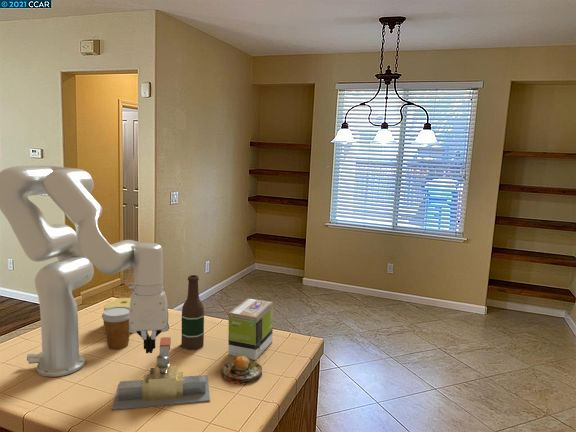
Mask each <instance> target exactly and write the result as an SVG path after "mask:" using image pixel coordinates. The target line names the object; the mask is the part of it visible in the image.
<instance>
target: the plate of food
mask: <svg viewBox="0 0 576 432" xmlns="http://www.w3.org/2000/svg"><path fill="white" fill-rule="evenodd" d="M221 377H222V379H225V380H227V381H228V382H229V383H232V384H235V383H236V384H237V385H247V384H248V385H249V384H251V383H255V382H257V381H259V380H260V379H261V378H262V377H263V368H262V366H261V365H260V363H258V362H256V361H255V360H251V359H248V358H247V357H245V356H238V357H237V356H236V357H235V359H234V360H233V361H229V362H226V363H225V364H224V365H223V366H222V369H221Z"/></svg>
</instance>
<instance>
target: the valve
mask: <svg viewBox="0 0 576 432" xmlns="http://www.w3.org/2000/svg"><path fill="white" fill-rule="evenodd" d="M205 375H206V374H202V375H199V374H198V375H187V376H185V375H184V371H178V365H173V366H169V367H167V368H163V369H161V368H158V367H157V366H156V367H150V370H149V373H148V374H147V373H146V374H143V379H135V380H134V379H133V380H121V381H119V384H118V387H119V388H118V387H117V391H118V397H119V401H120V400H132V399H142V400H149V401H156V400H168V399H177V397H183V395H190V394H202V393H206V378H205Z"/></svg>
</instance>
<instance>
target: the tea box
mask: <svg viewBox="0 0 576 432" xmlns="http://www.w3.org/2000/svg"><path fill="white" fill-rule="evenodd" d="M273 322H274V302H273V301H269V300H262V299H261V300H259V299H253V298H249V297H248V298H246V299H245V300H244V301H242V302H241V303H240V304H239V305H237V306H236V307H234V308H233V309H232V310H231V311H229V312H228V328H227V329H228V341H227V342H228V347H227V348H228V350H227V351H228V355H229V356H232V357H233V356H235V357H236V358H237V357H238V356H245V357H247V358H248V360H251V361H256V360H257V359H258V358H259V357H260V356H261V354H262V353H264V351H265V350H266V349H267V348H268V347H269V346H270V345H271V344H272V343H273V341H274V340H273V339H274V338H273V337H274V335H273V334H274V332H273V329H274V323H273Z"/></svg>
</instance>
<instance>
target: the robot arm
mask: <svg viewBox="0 0 576 432" xmlns="http://www.w3.org/2000/svg"><path fill="white" fill-rule="evenodd" d="M94 184H95V182H94V179H93V177H92V176H91V174H89V172H88V171H86V170H85V169H81V168H75V167H74V168H73V167H63V166H56V165H18V166H17V165H16V166H11V167H7V168H4V169H2V170H1V171H0V211H1V213H2V214H3V215H4V217H5V219H6V220H7V221H8V224H9V225H10V227H11V229H12V232H13V233H14V235H15V237H16V239H17V240H18V242H19V245H20V247H21V248H22V249H23V252H24V253H25V255H26V256H27V258H28V259H29V260H30V261H33V262H37V263H39V262H45V261H49V260H51V259H54V258H57V261H54V262H51V263H48V264H47V265H44V266H43V267H41V268H40V269H39V270H38V271H37V273H36V275H35V278H34V286H35V290H36V293H37V296H38V297H37V298H38V304H39V311H40V312H39V313H40V330H41V332H40V333H41V335H40V336H41V351H40V352H39V353H27V355H26V361H27V362H28V364H30V365H31V364H37V366H36V372H37V373H38V374H39V375H40V376H42V377H48V378H49V377H51V378H53V377H61V376H67V375H70V374H73V373H75V372H77V371H79V370H81V369H82V368H83V367H84V366H85V363H86V358H85V356H83V355H82V354H80V343H79V341H80V340H79V338H80V337H79V315H78V313H79V312H78V305H77V301H76V299H75V297H74V296H73V291H75V290H77V289H79V288H81V287H82V286H84V285H87V284H88V283H89V282H91V281H92V279H93V277H94V274H95V273H94V272H95V268H96V269H97V270H99V271H100V272H101V273H103V274H106V275H115V274H117V273H119V272H121V271H124V270H126V269H129V268H132V267H133V279H134V281H133V283H132V284H128V290H132V291H133V292H132V294H131V295H130V298H131V299H130V308H129V332H132V333H133V334H137V335H139V337H140V338H141V339H142V340H143V349H144V350H145V354H152V353H153V351H154V349H156V338H157V337H158V336H159V335H160V334H161V333H165V332H169V330H170V325H169V304H168V299H167V298H168V297H167V293H166V291H165V290H164V274H163V273H164V265H163V264H164V260H163V259H164V257H163V256H164V255H163V254H164V253H163V252H164V251H163V250H164V249H163V247H162V245H161V244H159V243H157V242H155V243H153V242H147V243H146V242H140V241H137V240H134V239H133V240H132V239H125V240H124V239H123V240H121V241H118V242H115V243H112V244H110V243H109V241H107V239H106V238H105V237H104V235H102V233H101V231H100V230H99V226H98V219H99V218H100V217H101V216H102V214H103V207H102V205H101V204H100V203H99V202H98V201H97V200H96V199H95V197H93V195H92V194H91V193H93V190H94V189H95V185H94ZM38 195H47V196H48V197H50V199H51V200H52V201H53V203H55V204H56V206H57V207H58V208H59V210H61V211H62V212H63V214H65V216H66V217H67V218H68V219H69V220H70V222H71V223H72V224H73V226H74V227H75V230H74V229H73V228H72V227H70V226H69V225H67V224H65V223H55V224H49V223H48V220H46V218H45V215H44V214H43V211H41V209H40V208H39V207H38V206H37V205H36V204H35V203H34V202H33V201H31V199H29V197H30V196H38ZM94 267H95V268H94ZM148 331H151V333H150V335H149V332H148ZM132 333H131V334H132Z"/></svg>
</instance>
